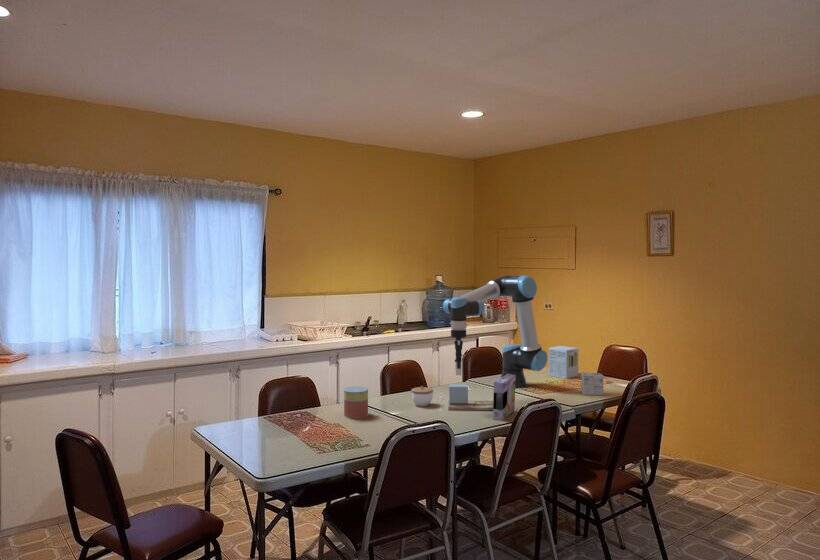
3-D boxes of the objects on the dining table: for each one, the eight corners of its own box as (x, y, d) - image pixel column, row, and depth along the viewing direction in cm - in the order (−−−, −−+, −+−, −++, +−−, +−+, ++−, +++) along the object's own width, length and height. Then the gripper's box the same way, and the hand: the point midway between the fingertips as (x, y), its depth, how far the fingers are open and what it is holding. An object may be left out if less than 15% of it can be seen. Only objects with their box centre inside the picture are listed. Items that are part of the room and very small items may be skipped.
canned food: (373, 415, 270) (373, 389, 269) (353, 419, 262) (353, 393, 262) (358, 410, 278) (357, 385, 277) (339, 414, 270) (338, 389, 270)
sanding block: (449, 402, 287) (449, 384, 286) (467, 402, 286) (467, 384, 286) (449, 405, 282) (449, 386, 281) (467, 405, 281) (467, 386, 281)
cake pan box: (501, 421, 259) (501, 382, 258) (491, 419, 261) (491, 381, 260) (515, 411, 275) (516, 374, 275) (505, 410, 278) (506, 373, 277)
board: (448, 403, 291) (448, 400, 291) (500, 404, 289) (500, 401, 289) (448, 410, 278) (448, 407, 278) (502, 411, 276) (502, 407, 276)
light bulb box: (601, 392, 313) (601, 372, 312) (603, 395, 306) (604, 375, 306) (580, 392, 314) (580, 372, 313) (583, 395, 307) (583, 375, 307)
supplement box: (566, 379, 348) (566, 350, 347) (548, 375, 358) (548, 347, 357) (578, 376, 357) (579, 347, 356) (560, 372, 367) (560, 345, 366)
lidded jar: (426, 408, 281) (426, 389, 280) (407, 405, 286) (407, 387, 286) (436, 403, 290) (436, 385, 289) (418, 401, 295) (418, 382, 295)
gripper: (450, 326, 295) (450, 367, 296) (451, 332, 270) (450, 377, 271) (465, 326, 294) (465, 367, 295) (467, 332, 270) (466, 377, 270)
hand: (458, 372), depth 283 cm, fingers open, 13 cm apart
